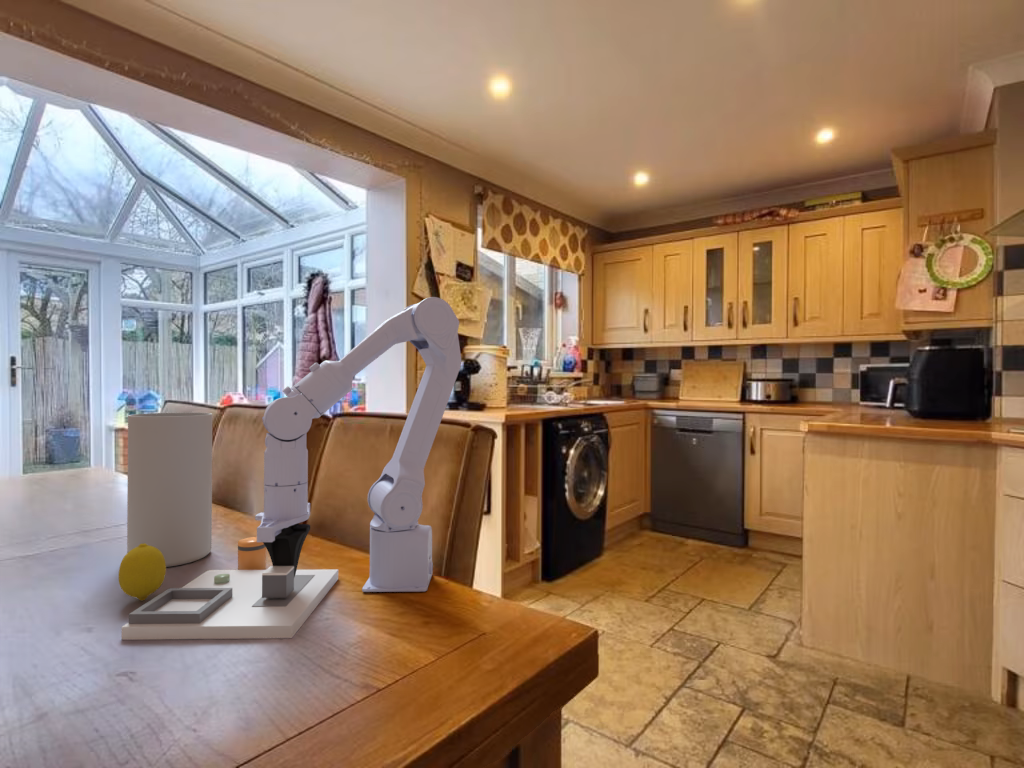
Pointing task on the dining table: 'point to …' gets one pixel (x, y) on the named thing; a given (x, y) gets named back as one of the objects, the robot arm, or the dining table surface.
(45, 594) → the dining table surface
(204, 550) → the cylinder vase
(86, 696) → the dining table surface
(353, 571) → the dining table surface
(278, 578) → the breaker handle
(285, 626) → the board
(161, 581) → the lemon
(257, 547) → the cap
